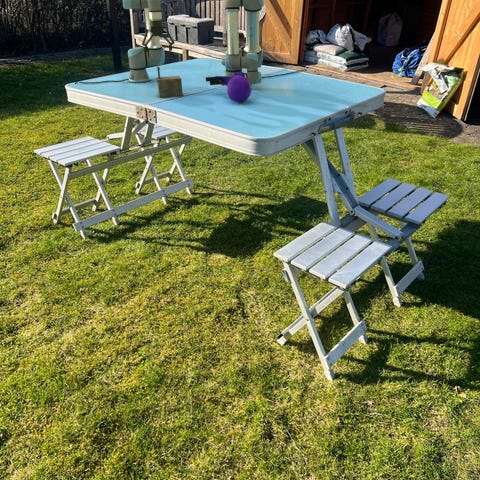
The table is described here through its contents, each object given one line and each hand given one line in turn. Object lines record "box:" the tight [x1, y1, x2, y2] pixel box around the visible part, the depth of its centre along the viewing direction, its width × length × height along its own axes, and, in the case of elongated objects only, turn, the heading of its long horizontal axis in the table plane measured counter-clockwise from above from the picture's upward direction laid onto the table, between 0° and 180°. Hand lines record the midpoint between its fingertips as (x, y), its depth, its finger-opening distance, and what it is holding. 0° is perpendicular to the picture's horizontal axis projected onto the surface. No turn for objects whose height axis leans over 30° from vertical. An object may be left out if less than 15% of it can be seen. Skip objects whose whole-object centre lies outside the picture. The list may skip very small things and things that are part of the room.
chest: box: [156, 79, 184, 99], centre depth 293 cm, size 15×9×10 cm, turn 105°
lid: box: [154, 65, 182, 83], centre depth 289 cm, size 16×9×8 cm, turn 105°
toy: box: [214, 71, 252, 103], centre depth 277 cm, size 16×18×27 cm
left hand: (159, 56), depth 286 cm, fingers open, 13 cm apart
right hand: (207, 81), depth 298 cm, fingers open, 13 cm apart
